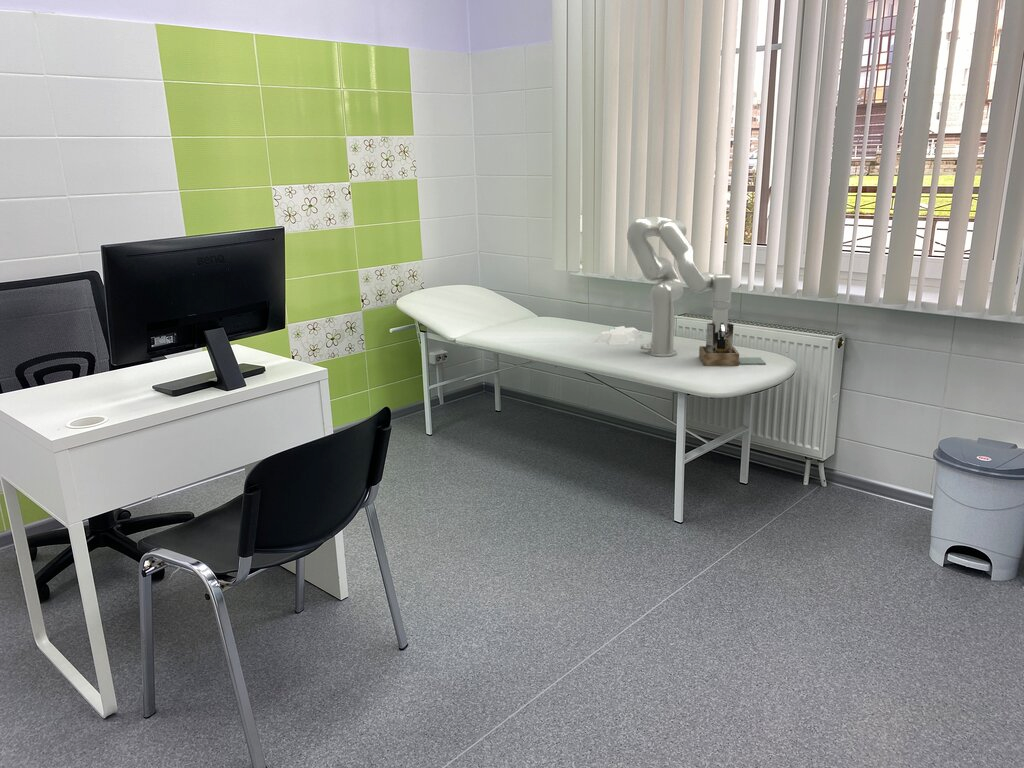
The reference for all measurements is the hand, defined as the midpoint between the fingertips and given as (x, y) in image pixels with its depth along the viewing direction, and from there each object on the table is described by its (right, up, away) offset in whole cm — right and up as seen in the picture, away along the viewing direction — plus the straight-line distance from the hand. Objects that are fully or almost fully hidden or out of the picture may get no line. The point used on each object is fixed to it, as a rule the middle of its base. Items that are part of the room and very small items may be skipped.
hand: (719, 346), depth 314 cm
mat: (+13, -6, 0) cm, 15 cm away
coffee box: (0, -7, +2) cm, 7 cm away
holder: (0, -6, +2) cm, 7 cm away
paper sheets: (-35, +4, +46) cm, 58 cm away
